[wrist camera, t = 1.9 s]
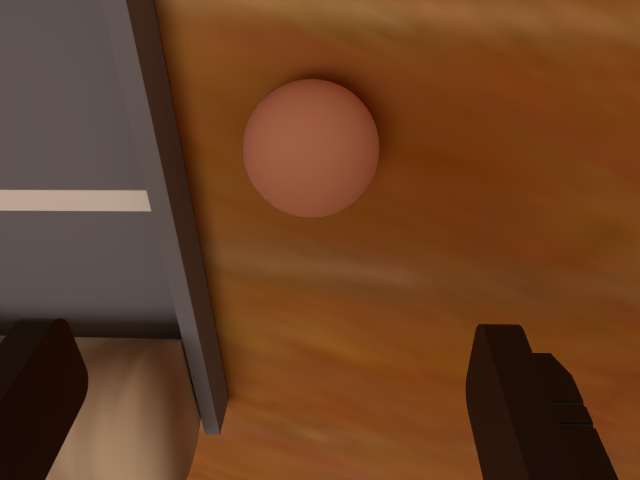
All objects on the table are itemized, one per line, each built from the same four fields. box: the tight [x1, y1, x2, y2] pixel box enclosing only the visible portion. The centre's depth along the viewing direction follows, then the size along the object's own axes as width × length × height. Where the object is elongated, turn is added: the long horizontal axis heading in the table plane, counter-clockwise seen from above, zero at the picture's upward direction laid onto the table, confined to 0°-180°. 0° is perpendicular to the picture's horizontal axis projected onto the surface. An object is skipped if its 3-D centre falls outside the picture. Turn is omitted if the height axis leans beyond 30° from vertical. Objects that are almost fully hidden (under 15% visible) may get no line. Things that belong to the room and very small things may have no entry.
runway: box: [0, 0, 229, 435], centre depth 21 cm, size 13×26×6 cm, turn 2°
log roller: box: [0, 336, 201, 480], centre depth 25 cm, size 11×7×7 cm, turn 92°
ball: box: [243, 79, 380, 218], centre depth 19 cm, size 5×5×5 cm
